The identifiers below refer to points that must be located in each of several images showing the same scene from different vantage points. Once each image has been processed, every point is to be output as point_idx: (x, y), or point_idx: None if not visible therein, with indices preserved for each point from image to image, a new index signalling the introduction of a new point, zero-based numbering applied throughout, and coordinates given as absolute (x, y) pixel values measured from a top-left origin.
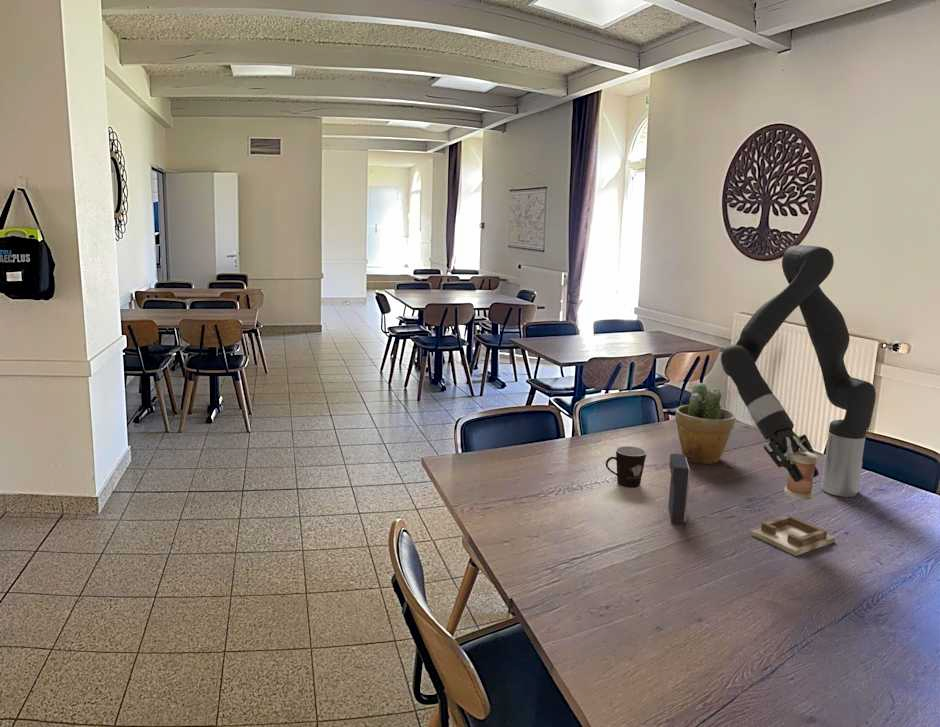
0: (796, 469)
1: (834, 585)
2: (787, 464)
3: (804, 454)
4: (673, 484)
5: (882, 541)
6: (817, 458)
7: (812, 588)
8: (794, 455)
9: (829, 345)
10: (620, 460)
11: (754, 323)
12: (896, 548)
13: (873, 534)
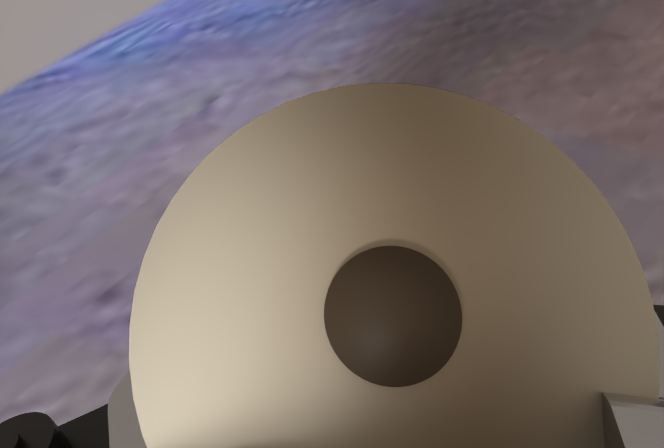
0: None
1: (452, 52)
2: (661, 310)
3: (377, 307)
4: None
5: (53, 204)
6: (281, 108)
7: (525, 58)
8: (616, 331)
9: None
10: None
11: None
12: (63, 154)
13: (25, 254)
